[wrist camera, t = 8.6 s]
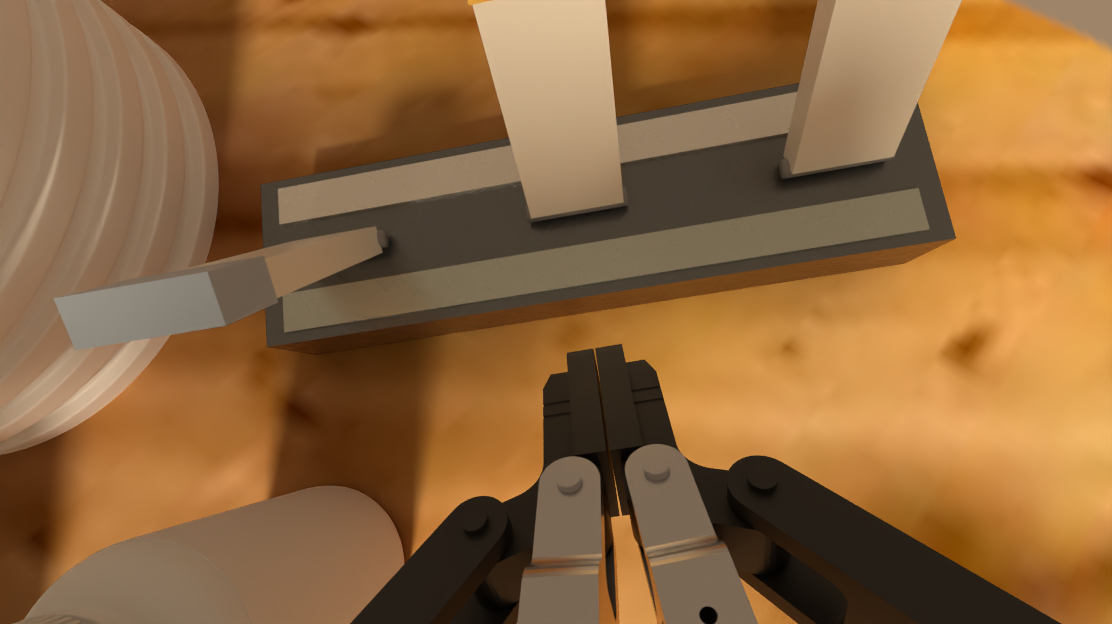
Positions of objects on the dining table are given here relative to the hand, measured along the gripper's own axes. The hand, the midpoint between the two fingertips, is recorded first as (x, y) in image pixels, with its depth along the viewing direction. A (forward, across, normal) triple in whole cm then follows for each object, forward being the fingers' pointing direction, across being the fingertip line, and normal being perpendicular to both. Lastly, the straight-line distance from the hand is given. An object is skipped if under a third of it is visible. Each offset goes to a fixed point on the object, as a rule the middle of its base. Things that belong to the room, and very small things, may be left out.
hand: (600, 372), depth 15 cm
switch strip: (+14, 0, -3) cm, 14 cm away
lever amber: (+11, 0, 0) cm, 11 cm away
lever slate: (+11, -11, 0) cm, 16 cm away
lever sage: (+11, +11, 0) cm, 15 cm away
